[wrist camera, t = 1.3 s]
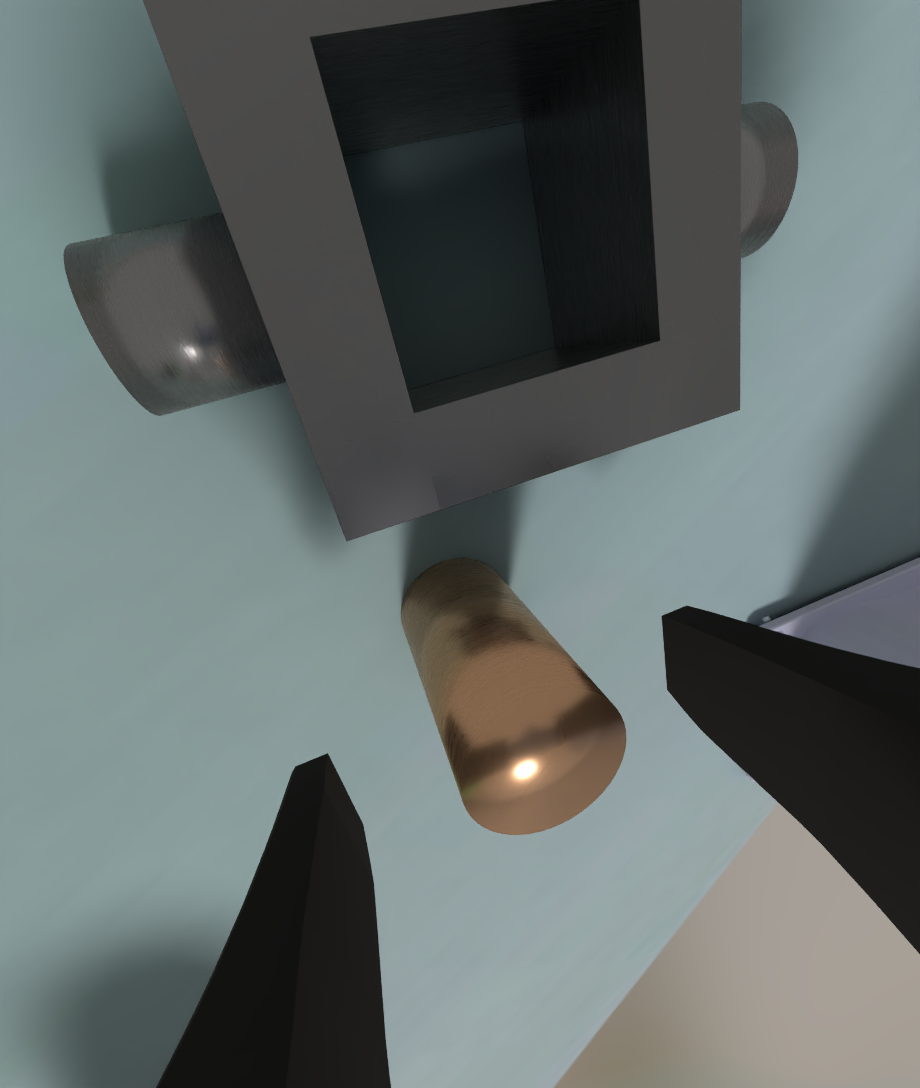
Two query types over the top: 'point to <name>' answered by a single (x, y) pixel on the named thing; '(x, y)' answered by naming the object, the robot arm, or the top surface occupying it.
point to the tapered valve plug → (508, 702)
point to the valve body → (344, 260)
